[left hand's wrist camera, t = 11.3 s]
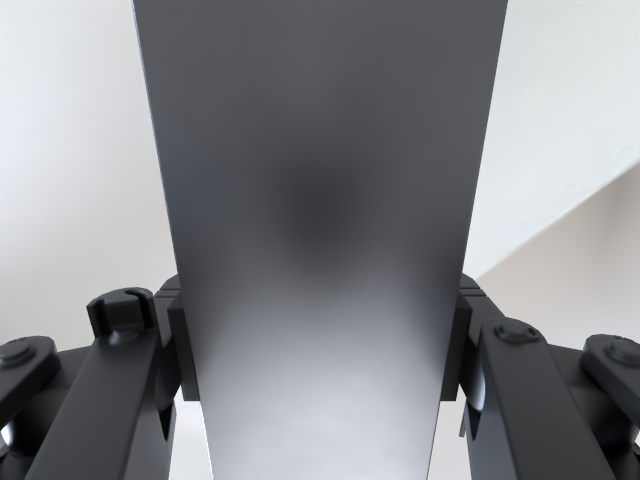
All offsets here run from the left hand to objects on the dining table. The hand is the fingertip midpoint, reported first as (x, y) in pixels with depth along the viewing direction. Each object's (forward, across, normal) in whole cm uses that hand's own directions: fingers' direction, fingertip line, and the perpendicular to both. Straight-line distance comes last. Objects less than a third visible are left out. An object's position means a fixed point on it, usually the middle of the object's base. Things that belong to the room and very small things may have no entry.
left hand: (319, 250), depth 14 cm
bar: (+1, 0, -10) cm, 10 cm away
